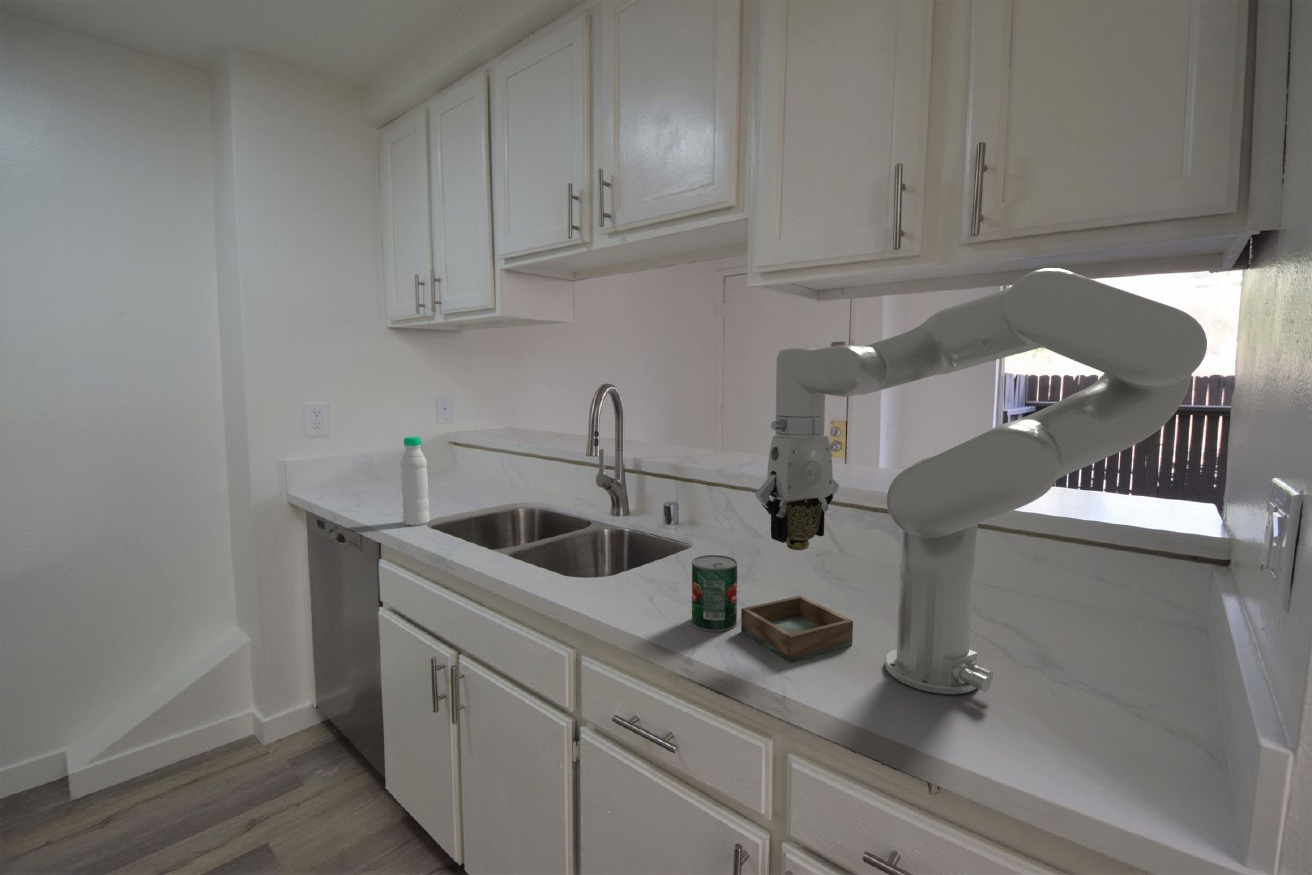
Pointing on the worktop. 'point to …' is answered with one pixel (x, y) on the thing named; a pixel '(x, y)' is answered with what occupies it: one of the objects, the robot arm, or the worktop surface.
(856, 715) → the worktop surface
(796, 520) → the olive textured bell shape
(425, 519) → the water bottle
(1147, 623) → the worktop surface
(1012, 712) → the worktop surface
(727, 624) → the canned tomato
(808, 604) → the walnut box
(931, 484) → the robot arm
